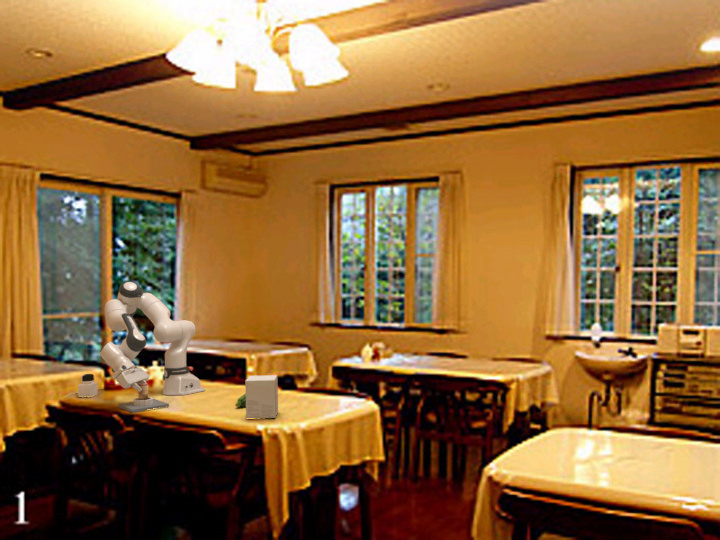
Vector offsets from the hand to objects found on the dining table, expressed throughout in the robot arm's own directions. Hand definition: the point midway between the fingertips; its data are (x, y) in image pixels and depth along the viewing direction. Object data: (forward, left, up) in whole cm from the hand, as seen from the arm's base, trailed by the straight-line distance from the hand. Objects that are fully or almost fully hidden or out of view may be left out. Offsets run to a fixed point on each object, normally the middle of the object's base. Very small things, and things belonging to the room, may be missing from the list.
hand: (144, 389), depth 310 cm
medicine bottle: (+11, -47, -9) cm, 49 cm away
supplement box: (-31, +57, -9) cm, 66 cm away
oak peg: (0, -1, -6) cm, 6 cm away
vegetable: (-39, +32, -9) cm, 51 cm away
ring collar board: (0, -1, -8) cm, 8 cm away
